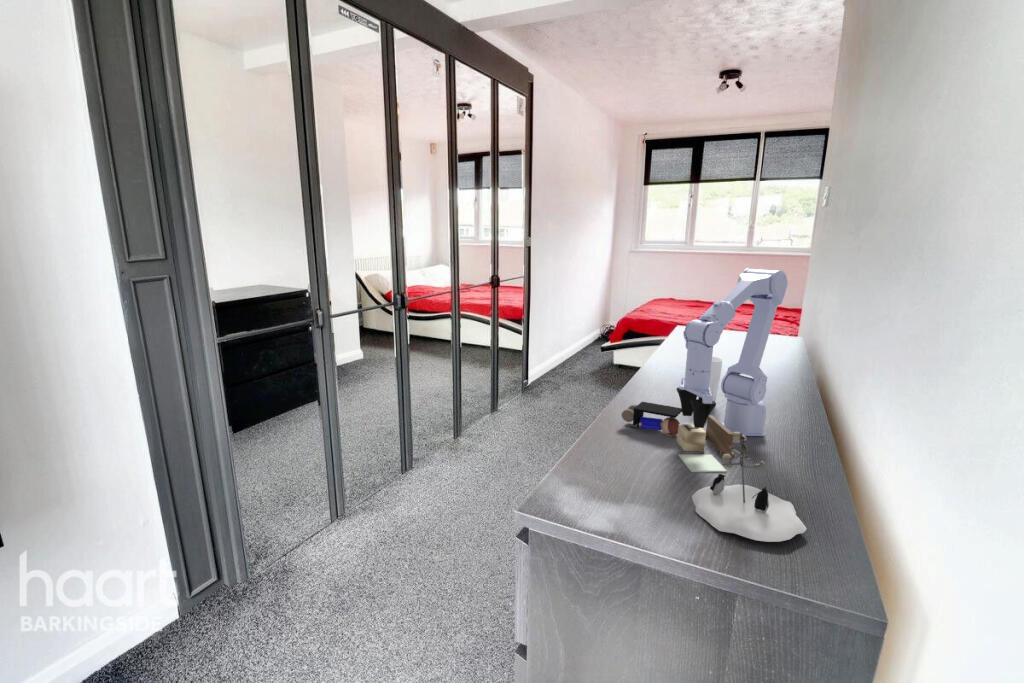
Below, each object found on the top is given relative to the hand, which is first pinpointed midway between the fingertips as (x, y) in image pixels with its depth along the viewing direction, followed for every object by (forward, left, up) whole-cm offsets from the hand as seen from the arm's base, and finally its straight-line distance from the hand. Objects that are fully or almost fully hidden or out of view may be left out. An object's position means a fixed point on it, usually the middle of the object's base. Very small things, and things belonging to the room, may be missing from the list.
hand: (692, 421), depth 116 cm
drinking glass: (-17, -31, -7) cm, 36 cm away
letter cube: (0, 0, -7) cm, 7 cm away
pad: (+1, +9, -7) cm, 12 cm away
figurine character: (+7, -10, -7) cm, 14 cm away
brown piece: (-7, 0, -7) cm, 10 cm away
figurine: (+1, +30, -7) cm, 31 cm away
